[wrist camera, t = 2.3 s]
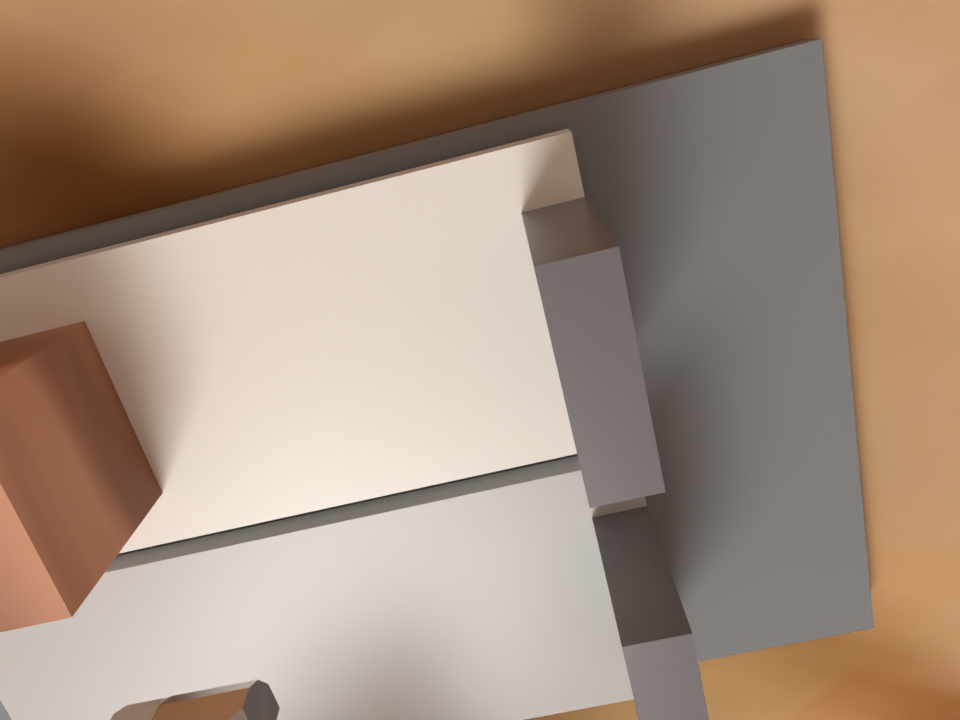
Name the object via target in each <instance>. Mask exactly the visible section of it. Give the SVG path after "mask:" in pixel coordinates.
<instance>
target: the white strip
mask: <svg viewBox="0 0 960 720" xmlns="http://www.w3.org/2000/svg"><path fill="white" fill-rule="evenodd" d="M83 321H85V323H86V325H87V327H88V329H89V332H90V334H91V336H92V338H93V340H94V343H95V345H96V347H97V349H98V351H99V354H100V356H101V358H102V360H103V363H104V365H105V367H106V369H107V371H108V374H109V376H110V378H111V380H112V382H113V385H114V387H115V389H116V391H117V393H118V396H119V398H120V400H121V402H122V404H123V407H124V409H125V411H126V413H127V416H128V418H129V420H130V422H131V424H132V427H133V429H134V431H135V433H136V435H137V438H138V440H139V442H140V444H141V446H142V449H143V451H144V453H145V455H146V457H147V460H148V462H149V464H150V466H151V469H152V471H153V473H154V475H155V477H156V480H157V482H158V484H159V486H160V488H161V491H162V495H161V496H160V498H159V499H158V500H157V502H156V503H155V504H154V506H153V507H152V508H151V510H150V511H149V513H148V514H147V515H146V517H145V518H144V519H143V521H142V522H141V524H140V525H139V526H138V528H137V529H136V530H135V532H134V533H133V535H132V536H131V537H130V539H129V540H128V541H127V543H126V544H125V545H124V547H123V548H122V550H121V551H120V552H119V553H124V552H128V551H133V550H137V549H142V548H147V547H151V546H156V545H160V544H165V543H170V542H174V541H179V540H183V539H188V538H193V537H197V536H202V535H206V534H211V533H216V532H220V531H225V530H229V529H234V528H238V527H243V526H248V525H252V524H257V523H261V522H266V521H271V520H275V519H280V518H284V517H289V516H294V515H298V514H303V513H307V512H312V511H317V510H321V509H326V508H330V507H335V506H340V505H344V504H349V503H353V502H358V501H362V500H367V499H372V498H376V497H381V496H385V495H390V494H395V493H399V492H404V491H408V490H413V489H418V488H422V487H427V486H431V485H436V484H441V483H445V482H450V481H454V480H459V479H464V478H468V477H473V476H477V475H482V474H487V473H491V472H496V471H500V470H505V469H509V468H514V467H519V466H523V465H528V464H532V463H537V462H542V461H546V460H551V459H555V458H560V457H565V456H569V455H574V454H577V456H578V460H579V464H580V469H581V473H582V477H583V481H584V486H585V490H586V494H587V499H588V503H589V507H590V508H593V507H598V506H602V505H607V504H612V503H617V502H621V501H626V500H631V499H636V498H640V497H645V496H650V495H655V494H659V493H664V492H665V486H664V481H663V476H662V471H661V465H660V460H659V455H658V450H657V444H656V439H655V434H654V429H653V423H652V418H651V413H650V408H649V402H648V397H647V392H646V387H645V381H644V376H643V371H642V365H641V360H640V355H639V350H638V344H637V339H636V334H635V329H634V323H633V318H632V313H631V308H630V302H629V297H628V292H627V287H626V281H625V276H624V271H623V266H622V260H621V255H620V250H619V246H618V244H617V243H616V242H615V240H614V239H613V237H612V236H611V234H610V233H609V231H608V230H607V228H606V227H605V226H604V224H603V223H602V221H601V220H600V218H599V217H598V215H597V214H596V213H595V211H594V210H593V208H592V207H591V205H590V204H589V202H588V201H587V200H586V198H585V196H584V191H583V186H582V181H581V176H580V171H579V166H578V162H577V157H576V152H575V147H574V142H573V137H572V132H571V131H570V130H569V129H564V130H560V131H556V132H552V133H548V134H544V135H540V136H536V137H533V138H529V139H525V140H521V141H517V142H513V143H509V144H505V145H501V146H497V147H494V148H490V149H486V150H482V151H478V152H474V153H470V154H466V155H462V156H459V157H455V158H451V159H447V160H443V161H439V162H435V163H431V164H427V165H423V166H420V167H416V168H412V169H408V170H404V171H400V172H396V173H392V174H388V175H385V176H381V177H377V178H373V179H369V180H365V181H361V182H357V183H353V184H350V185H346V186H342V187H338V188H334V189H330V190H326V191H322V192H318V193H314V194H311V195H307V196H303V197H299V198H295V199H291V200H287V201H283V202H279V203H276V204H272V205H268V206H264V207H260V208H256V209H252V210H248V211H244V212H240V213H237V214H233V215H229V216H225V217H221V218H217V219H213V220H209V221H205V222H202V223H198V224H194V225H190V226H186V227H182V228H178V229H174V230H170V231H167V232H163V233H159V234H155V235H151V236H147V237H143V238H139V239H135V240H131V241H128V242H124V243H120V244H116V245H112V246H108V247H104V248H100V249H96V250H93V251H89V252H85V253H81V254H77V255H73V256H69V257H65V258H61V259H57V260H54V261H50V262H46V263H42V264H38V265H34V266H30V267H26V268H22V269H19V270H15V271H11V272H7V273H3V274H0V342H2V341H6V340H10V339H14V338H18V337H22V336H26V335H30V334H34V333H38V332H42V331H46V330H50V329H54V328H58V327H62V326H66V325H70V324H74V323H78V322H83Z"/></svg>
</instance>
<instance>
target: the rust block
mask: <svg viewBox="0 0 960 720" xmlns="http://www.w3.org/2000/svg"><path fill="white" fill-rule="evenodd" d="M161 495H162V491H161V488H160V486H159V484H158V482H157V480H156V477H155V475H154V473H153V471H152V469H151V466H150V464H149V462H148V460H147V457H146V455H145V453H144V451H143V449H142V446H141V444H140V442H139V440H138V438H137V435H136V433H135V431H134V429H133V427H132V424H131V422H130V420H129V418H128V416H127V413H126V411H125V409H124V407H123V404H122V402H121V400H120V398H119V396H118V393H117V391H116V389H115V387H114V385H113V382H112V380H111V378H110V376H109V374H108V371H107V369H106V367H105V365H104V363H103V360H102V358H101V356H100V354H99V351H98V349H97V347H96V345H95V343H94V340H93V338H92V336H91V334H90V332H89V329H88V327H87V325H86V323H85V321H83V322H78V323H74V324H70V325H66V326H62V327H58V328H54V329H50V330H46V331H42V332H38V333H34V334H30V335H26V336H22V337H18V338H14V339H10V340H6V341H2V342H0V632H5V631H10V630H14V629H19V628H24V627H29V626H33V625H38V624H43V623H48V622H52V621H57V620H62V619H67V618H71V617H73V615H74V614H75V613H76V611H77V610H78V608H79V607H80V606H81V604H82V603H83V602H84V600H85V599H86V598H87V596H88V595H89V593H90V592H91V591H92V589H93V588H94V587H95V585H96V584H97V582H98V581H99V580H100V578H101V577H102V576H103V574H104V573H105V571H106V570H107V569H108V567H109V566H110V565H111V563H112V562H113V561H114V559H115V558H116V556H117V555H118V554H119V552H120V551H121V550H122V548H123V547H124V545H125V544H126V543H127V541H128V540H129V539H130V537H131V536H132V535H133V533H134V532H135V530H136V529H137V528H138V526H139V525H140V524H141V522H142V521H143V519H144V518H145V517H146V515H147V514H148V513H149V511H150V510H151V508H152V507H153V506H154V504H155V503H156V502H157V500H158V499H159V498H160V496H161Z"/></svg>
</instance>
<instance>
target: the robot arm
mask: <svg viewBox="0 0 960 720" xmlns="http://www.w3.org/2000/svg"><path fill="white" fill-rule="evenodd" d="M279 709H280V707H279V705H278V703H277V701H276V699H275V697H274V695H273V693H272V690H271V688H270V686H269V684H267V683H265V682H262V681H260V680H254V681H248V682H243V683H238V684H233V685H227V686H222V687H217V688H211V689H206V690H201V691H195V692H190V693H185V694H179V695H174V696H170V697H169V698H161V699H156V700H151V701H146V702H141V703H136V704H131V705H126V706H125V707H123V708H122V709H120V710H119V711H117V712H116V713H114V714H113V716H112V717H111V719H110V720H277V716H278V713H279Z"/></svg>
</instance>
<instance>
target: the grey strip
mask: <svg viewBox="0 0 960 720" xmlns="http://www.w3.org/2000/svg"><path fill="white" fill-rule="evenodd" d="M254 680H260V681H262V682H265V683H267V684H269V686H270V688H271V690H272V693H273V695H274V697H275V699H276V701H277V703H278V705H279V707H280V709H279V713H278V716H277V720H526V719H531V718H536V717H542V716H547V715H552V714H558V713H563V712H568V711H574V710H579V709H584V708H590V707H595V706H601V705H606V704H611V703H617V702H622V701H627V700H633V699H634V701H635V706H636V710H637V714H638V719H639V720H709V718H708V712H707V707H706V702H705V697H704V691H703V686H702V681H701V676H700V670H699V665H698V660H697V655H696V649H695V644H694V639H693V634H692V631H691V628H690V625H689V622H688V620H687V617H686V614H685V611H684V608H683V606H682V603H681V600H680V597H679V594H678V592H677V589H676V586H675V583H674V580H673V578H672V575H671V572H670V569H669V566H668V564H667V561H666V558H665V555H664V552H663V550H662V547H661V544H660V541H659V538H658V536H657V533H656V530H655V527H654V524H653V522H652V519H651V516H650V513H649V511H648V508H647V504H646V499H645V497H640V498H636V499H631V500H626V501H621V502H617V503H612V504H607V505H602V506H598V507H593V508H590V507H589V503H588V499H587V494H586V490H585V486H584V481H583V477H582V473H581V469H580V464H579V460H578V456H574V457H570V458H565V459H560V460H556V461H551V462H547V463H542V464H537V465H533V466H528V467H524V468H519V469H514V470H510V471H505V472H501V473H496V474H491V475H487V476H482V477H478V478H473V479H468V480H464V481H459V482H455V483H450V484H445V485H441V486H436V487H432V488H427V489H422V490H418V491H413V492H409V493H404V494H399V495H395V496H390V497H386V498H381V499H376V500H372V501H367V502H363V503H358V504H353V505H349V506H344V507H340V508H335V509H330V510H326V511H321V512H317V513H312V514H307V515H303V516H298V517H294V518H289V519H284V520H280V521H275V522H271V523H266V524H261V525H257V526H252V527H248V528H243V529H238V530H234V531H229V532H225V533H220V534H215V535H211V536H206V537H202V538H197V539H192V540H188V541H183V542H179V543H174V544H169V545H165V546H160V547H156V548H151V549H146V550H142V551H137V552H133V553H128V554H123V555H119V556H116V558H115V559H114V561H113V562H112V563H111V565H110V566H109V567H108V569H107V570H106V571H105V573H104V574H103V576H102V577H101V578H100V580H99V581H98V582H97V584H96V585H95V587H94V588H93V589H92V591H91V592H90V593H89V595H88V596H87V598H86V599H85V600H84V602H83V603H82V604H81V606H80V607H79V608H78V610H77V611H76V613H75V614H74V615H73V617H71V618H67V619H62V620H57V621H52V622H48V623H43V624H38V625H33V626H29V627H24V628H19V629H14V630H10V631H5V632H0V701H1V702H2V704H3V706H4V707H5V709H6V711H7V712H8V714H9V716H10V717H11V719H12V720H110V719H111V717H112V716H113V714H114V713H116V712H117V711H119V710H120V709H122V708H123V707H125V706H126V705H131V704H136V703H141V702H146V701H151V700H156V699H161V698H169V697H170V696H174V695H179V694H185V693H190V692H195V691H201V690H206V689H211V688H217V687H222V686H227V685H233V684H238V683H243V682H248V681H254Z"/></svg>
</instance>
